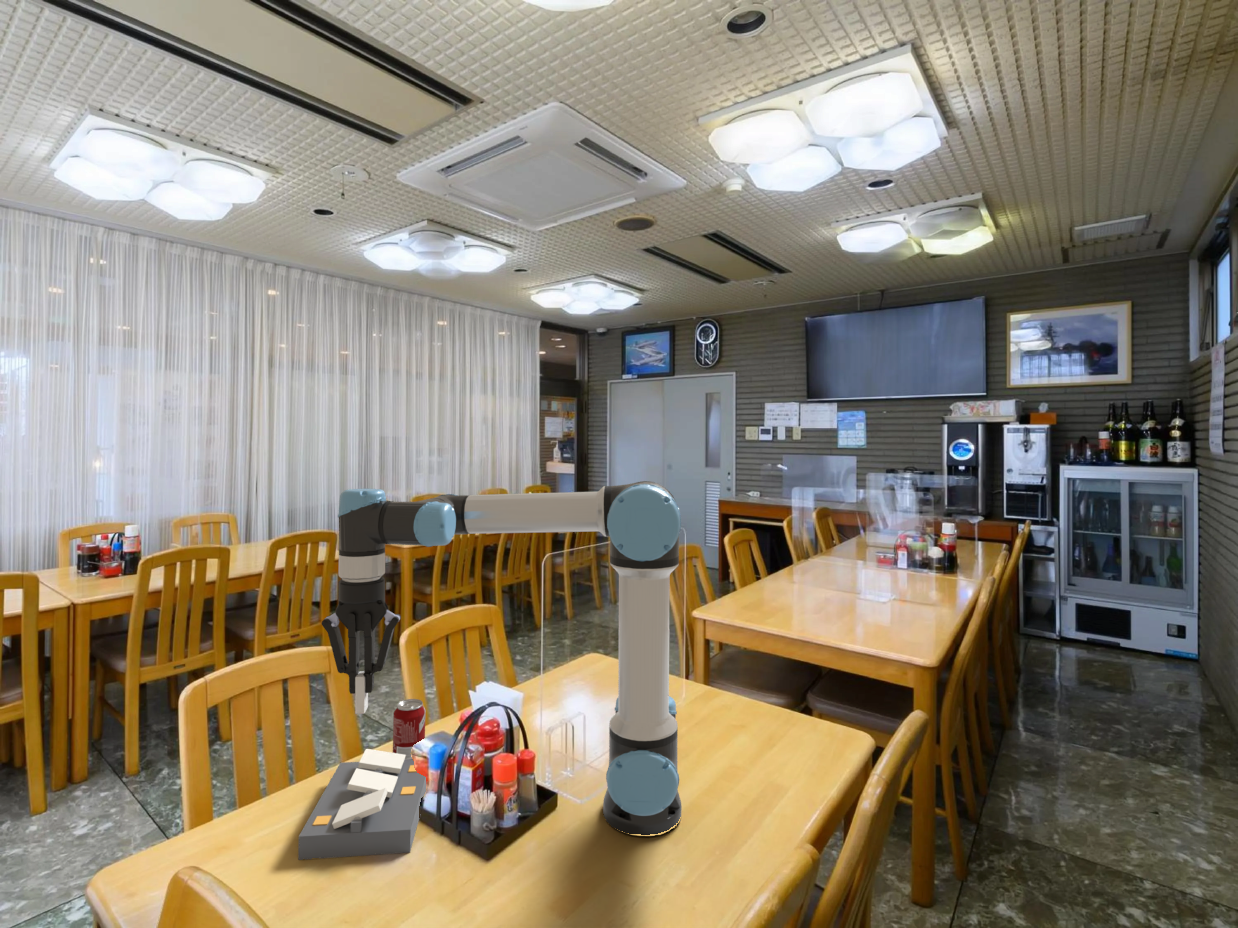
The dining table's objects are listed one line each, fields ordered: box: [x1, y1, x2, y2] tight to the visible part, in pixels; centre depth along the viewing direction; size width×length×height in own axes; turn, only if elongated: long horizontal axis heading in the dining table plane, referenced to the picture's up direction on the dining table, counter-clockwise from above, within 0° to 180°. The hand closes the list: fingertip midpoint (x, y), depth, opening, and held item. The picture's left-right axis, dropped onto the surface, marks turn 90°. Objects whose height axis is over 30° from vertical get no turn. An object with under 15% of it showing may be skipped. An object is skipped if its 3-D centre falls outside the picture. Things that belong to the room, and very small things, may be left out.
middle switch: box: [347, 768, 398, 798], centre depth 117 cm, size 8×6×2 cm
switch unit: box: [297, 759, 427, 861], centre depth 117 cm, size 18×24×6 cm
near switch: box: [332, 788, 387, 829], centre depth 109 cm, size 8×6×2 cm
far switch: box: [358, 748, 406, 774], centre depth 124 cm, size 8×6×2 cm
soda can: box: [392, 698, 427, 760], centre depth 138 cm, size 7×7×12 cm
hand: (361, 710), depth 109 cm, fingers closed
